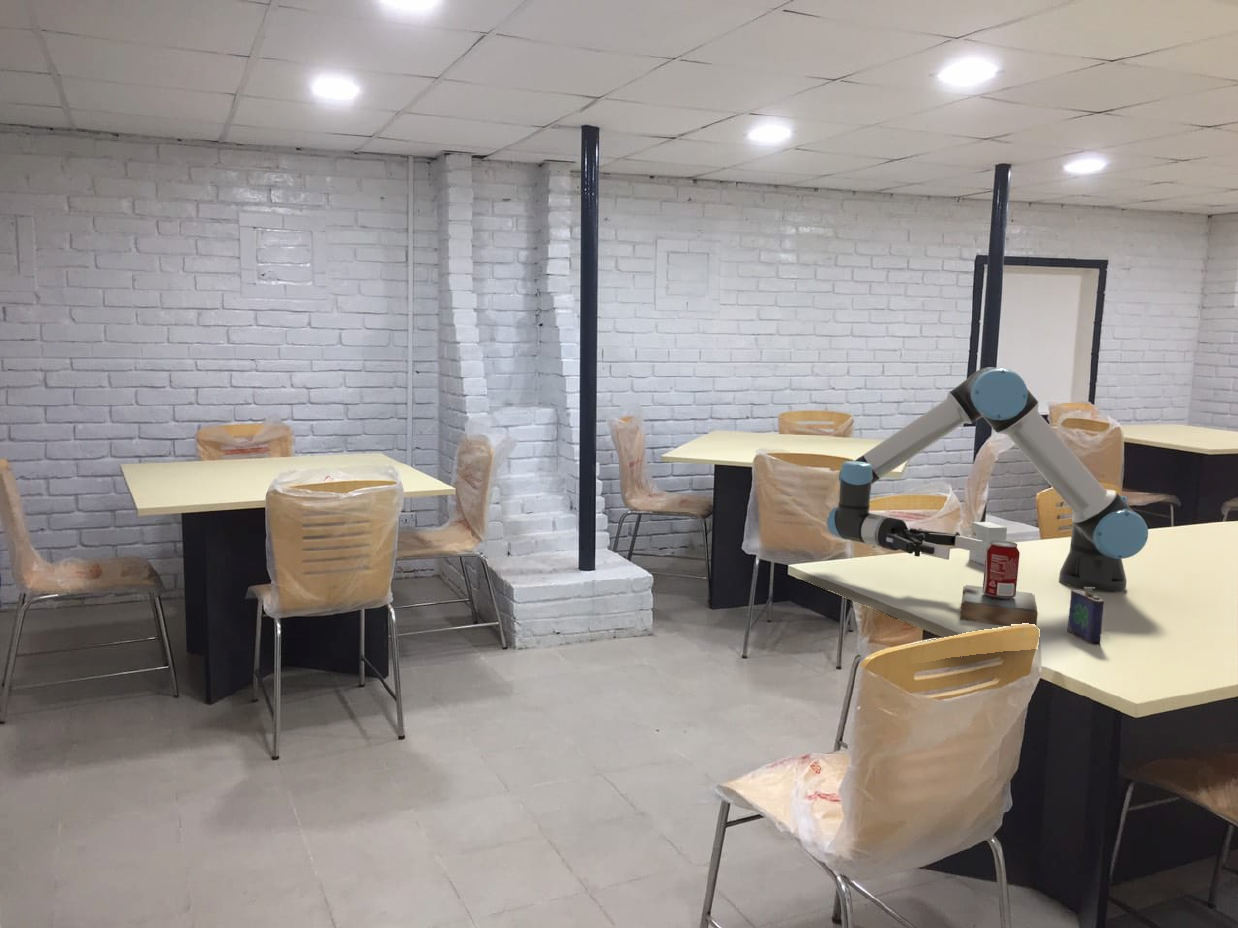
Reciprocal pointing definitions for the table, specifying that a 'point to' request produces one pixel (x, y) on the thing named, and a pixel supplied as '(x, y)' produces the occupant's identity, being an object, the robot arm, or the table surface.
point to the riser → (997, 607)
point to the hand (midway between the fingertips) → (965, 550)
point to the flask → (1086, 615)
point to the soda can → (1001, 570)
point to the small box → (985, 537)
